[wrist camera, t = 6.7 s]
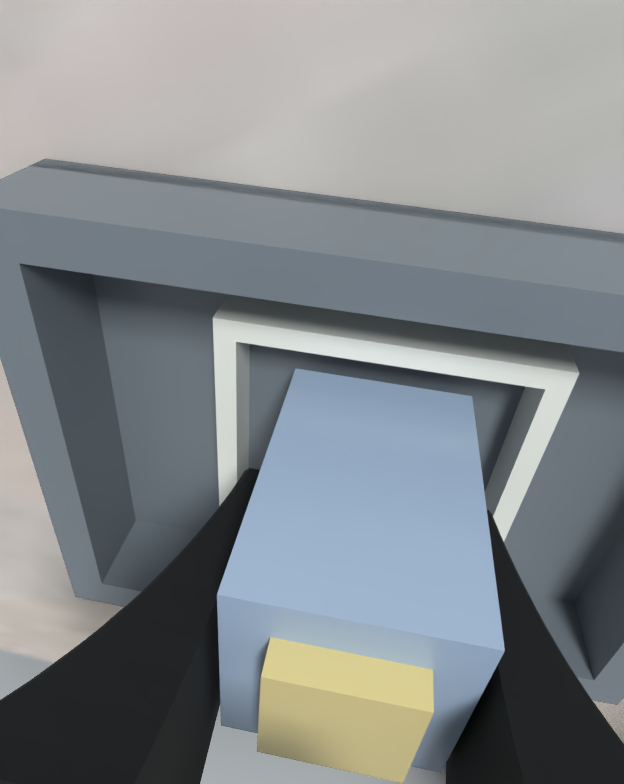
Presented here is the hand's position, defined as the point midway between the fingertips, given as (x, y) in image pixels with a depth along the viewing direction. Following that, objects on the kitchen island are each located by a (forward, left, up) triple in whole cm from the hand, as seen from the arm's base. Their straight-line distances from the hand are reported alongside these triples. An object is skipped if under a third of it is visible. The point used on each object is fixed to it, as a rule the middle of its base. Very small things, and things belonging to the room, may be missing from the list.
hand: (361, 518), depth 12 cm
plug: (0, 0, -2) cm, 2 cm away
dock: (0, 0, -3) cm, 3 cm away
